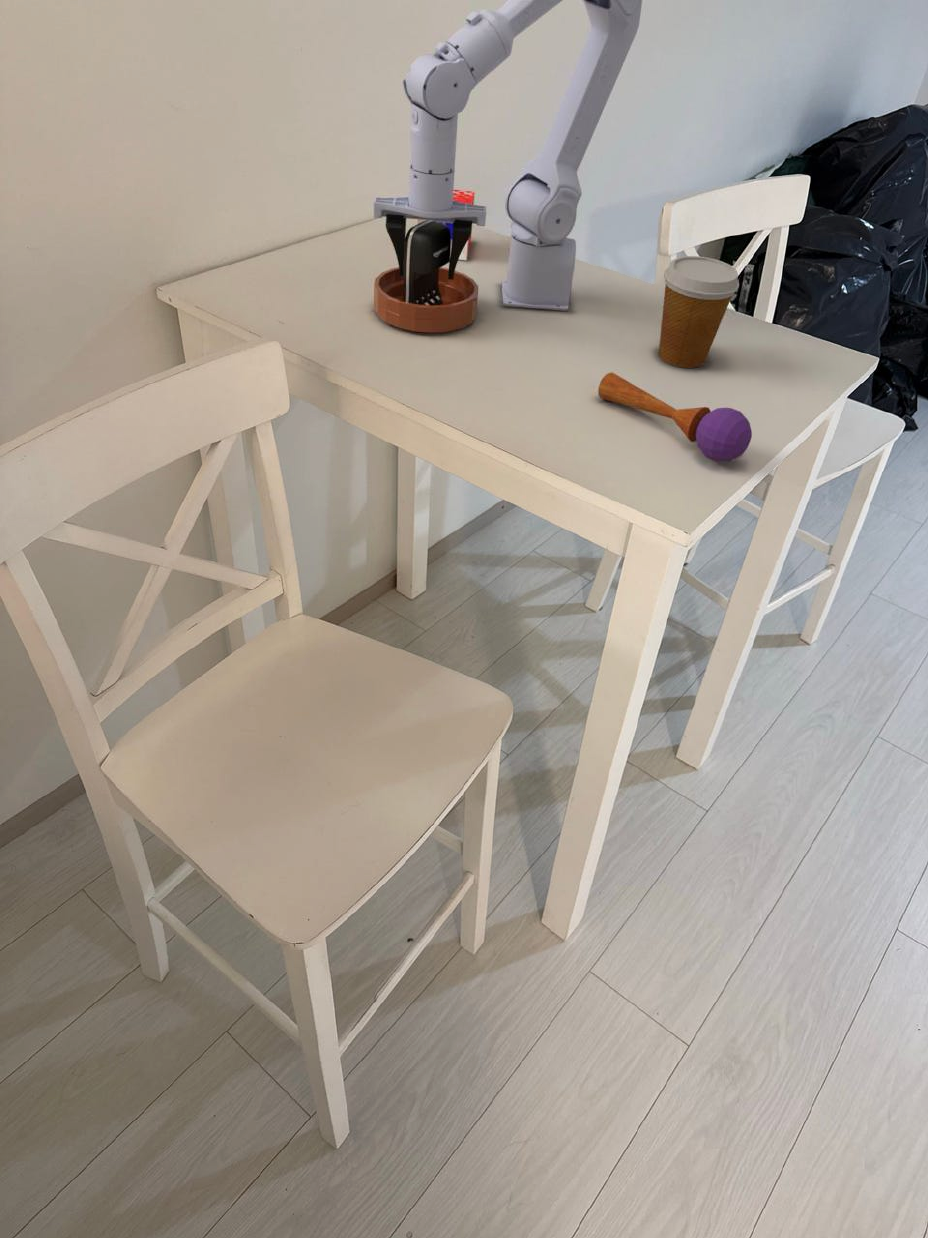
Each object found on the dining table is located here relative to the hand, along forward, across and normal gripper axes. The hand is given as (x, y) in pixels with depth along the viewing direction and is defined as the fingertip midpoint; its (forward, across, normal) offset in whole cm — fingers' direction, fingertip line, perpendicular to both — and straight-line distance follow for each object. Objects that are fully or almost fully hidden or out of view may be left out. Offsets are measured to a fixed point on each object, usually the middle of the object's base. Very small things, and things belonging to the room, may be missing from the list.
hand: (427, 274), depth 123 cm
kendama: (+6, -30, +28) cm, 41 cm away
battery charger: (+5, 0, 0) cm, 5 cm away
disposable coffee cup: (+6, -35, +8) cm, 36 cm away
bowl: (+5, 0, 0) cm, 5 cm away
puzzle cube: (+6, -2, -25) cm, 26 cm away
